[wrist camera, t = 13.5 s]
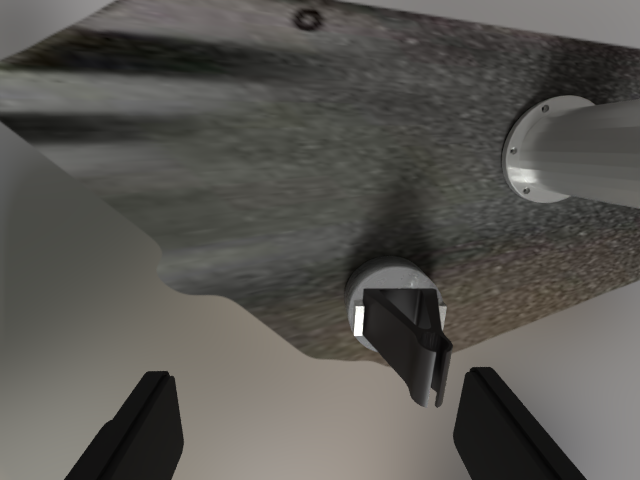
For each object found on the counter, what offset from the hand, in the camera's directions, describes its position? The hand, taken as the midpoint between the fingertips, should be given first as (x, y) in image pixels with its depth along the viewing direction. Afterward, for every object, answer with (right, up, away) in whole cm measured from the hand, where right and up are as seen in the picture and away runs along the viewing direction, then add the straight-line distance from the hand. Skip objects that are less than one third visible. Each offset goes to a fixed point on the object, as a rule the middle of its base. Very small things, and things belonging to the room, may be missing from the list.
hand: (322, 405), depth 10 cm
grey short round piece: (+9, -3, +33) cm, 34 cm away
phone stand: (+10, -3, +28) cm, 30 cm away
